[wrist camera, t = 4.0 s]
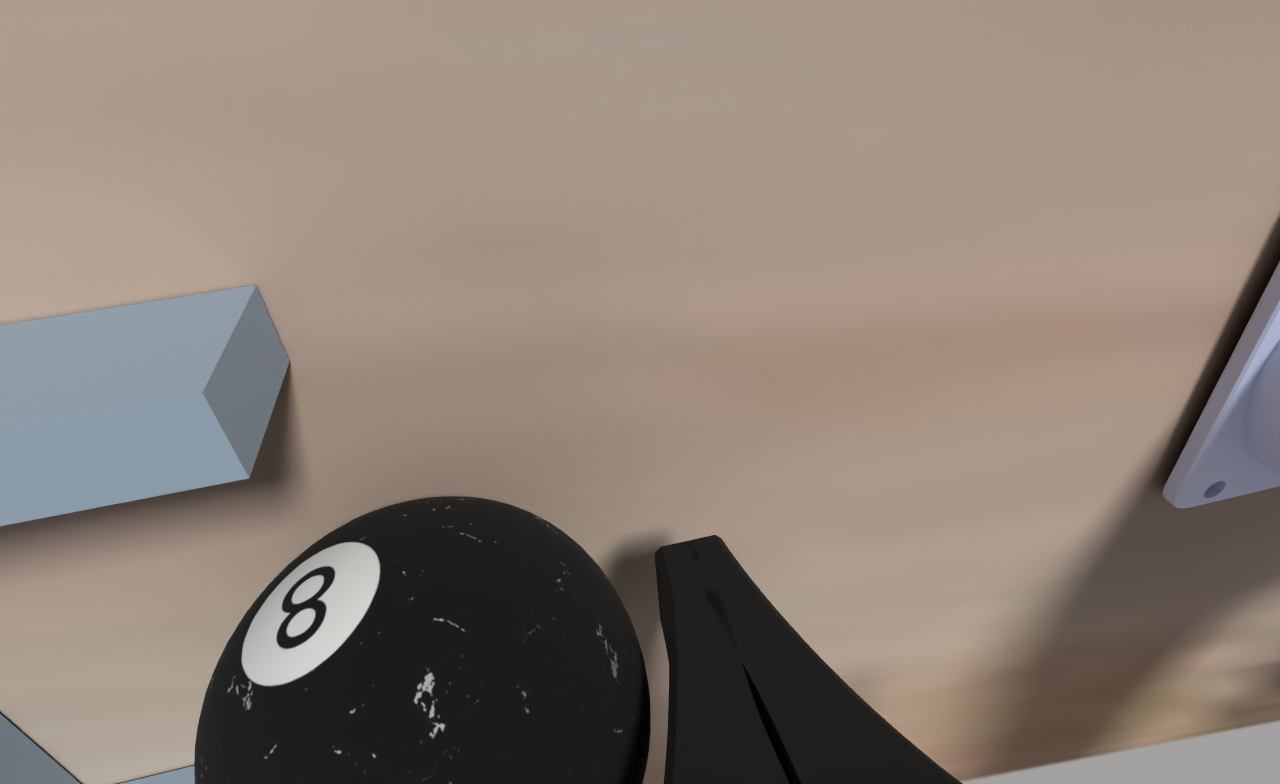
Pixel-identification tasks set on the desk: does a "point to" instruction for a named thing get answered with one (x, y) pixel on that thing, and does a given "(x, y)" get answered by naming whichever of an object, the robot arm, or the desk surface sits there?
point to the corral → (129, 424)
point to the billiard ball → (431, 660)
